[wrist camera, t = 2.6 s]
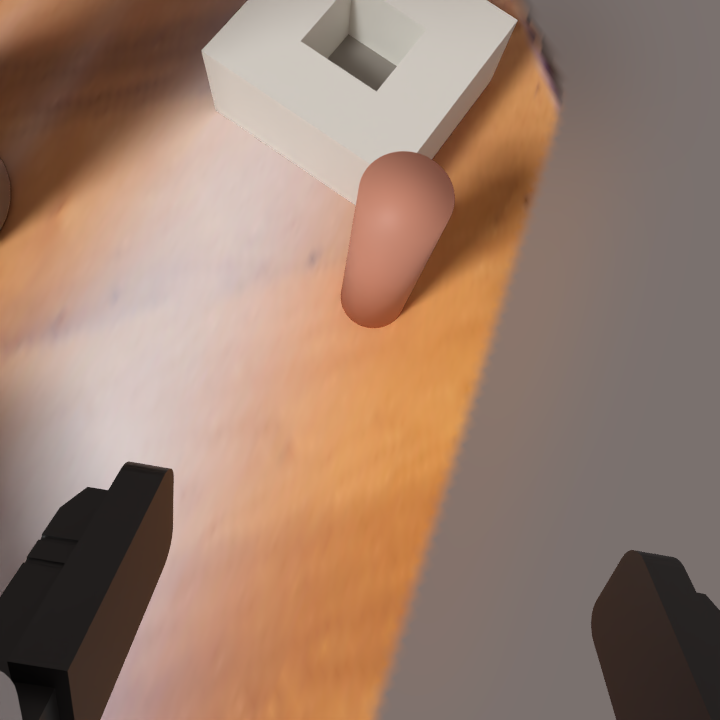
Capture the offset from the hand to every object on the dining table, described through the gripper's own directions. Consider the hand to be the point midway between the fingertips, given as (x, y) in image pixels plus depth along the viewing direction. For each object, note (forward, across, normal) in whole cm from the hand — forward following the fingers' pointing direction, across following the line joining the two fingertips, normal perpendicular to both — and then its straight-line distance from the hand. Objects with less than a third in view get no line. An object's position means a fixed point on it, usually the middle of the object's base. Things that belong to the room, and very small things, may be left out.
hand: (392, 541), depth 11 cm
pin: (+23, 0, +6) cm, 24 cm away
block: (+32, +3, -2) cm, 32 cm away
